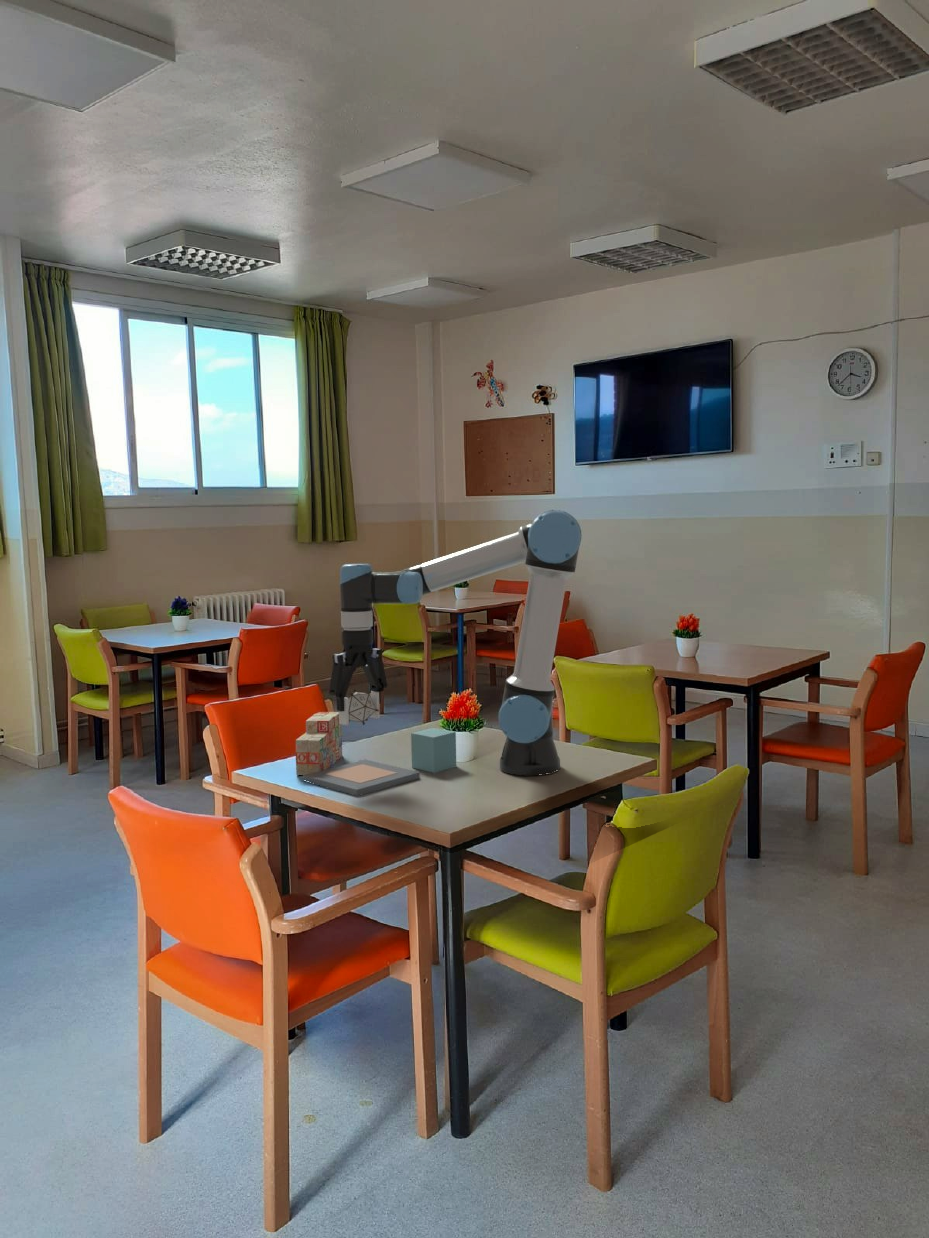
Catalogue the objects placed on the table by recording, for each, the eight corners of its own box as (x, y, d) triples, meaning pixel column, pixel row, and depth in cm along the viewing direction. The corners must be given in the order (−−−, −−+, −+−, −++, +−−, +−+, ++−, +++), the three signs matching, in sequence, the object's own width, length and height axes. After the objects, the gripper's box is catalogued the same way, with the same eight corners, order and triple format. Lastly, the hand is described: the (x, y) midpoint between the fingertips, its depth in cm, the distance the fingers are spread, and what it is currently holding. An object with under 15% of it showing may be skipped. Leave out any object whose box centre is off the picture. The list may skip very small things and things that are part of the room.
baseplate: (419, 778, 234) (419, 771, 234) (356, 796, 219) (356, 789, 219) (365, 765, 247) (365, 759, 247) (303, 781, 233) (302, 774, 233)
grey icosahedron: (354, 737, 234) (344, 700, 238) (386, 724, 233) (375, 688, 238) (341, 726, 226) (331, 688, 230) (374, 713, 225) (364, 676, 230)
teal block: (456, 766, 245) (455, 731, 244) (434, 772, 239) (433, 737, 238) (434, 761, 250) (433, 727, 249) (411, 767, 244) (411, 733, 243)
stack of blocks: (320, 777, 237) (318, 728, 236) (295, 776, 238) (294, 727, 237) (342, 756, 258) (341, 711, 257) (320, 755, 259) (318, 710, 258)
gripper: (380, 623, 240) (382, 712, 242) (311, 631, 224) (314, 726, 227) (401, 625, 235) (403, 715, 237) (331, 633, 219) (334, 730, 222)
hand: (359, 720), depth 232 cm, fingers closed on grey icosahedron, 9 cm apart
